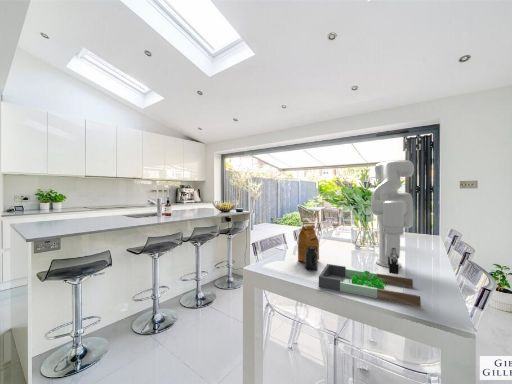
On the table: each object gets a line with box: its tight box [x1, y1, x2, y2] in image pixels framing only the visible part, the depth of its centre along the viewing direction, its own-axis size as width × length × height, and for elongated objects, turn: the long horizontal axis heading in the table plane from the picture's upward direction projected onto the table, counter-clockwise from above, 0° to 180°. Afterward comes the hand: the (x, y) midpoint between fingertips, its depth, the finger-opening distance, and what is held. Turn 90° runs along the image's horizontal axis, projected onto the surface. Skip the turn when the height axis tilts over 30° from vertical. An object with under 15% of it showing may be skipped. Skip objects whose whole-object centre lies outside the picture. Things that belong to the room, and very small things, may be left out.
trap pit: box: [318, 263, 347, 292], centre depth 106 cm, size 20×9×4 cm, turn 152°
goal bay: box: [339, 268, 378, 299], centre depth 101 cm, size 20×14×4 cm
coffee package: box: [297, 224, 320, 263], centre depth 137 cm, size 10×12×22 cm
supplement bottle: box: [304, 246, 319, 271], centre depth 123 cm, size 7×7×12 cm
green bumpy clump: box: [348, 270, 387, 290], centre depth 100 cm, size 15×15×7 cm
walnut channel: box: [376, 272, 421, 308], centre depth 94 cm, size 20×14×4 cm
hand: (392, 269), depth 95 cm, fingers open, 9 cm apart
